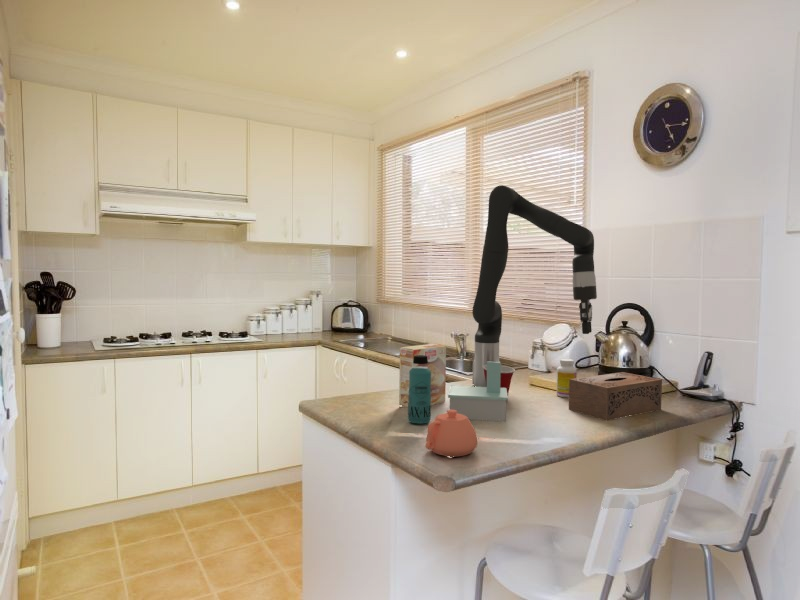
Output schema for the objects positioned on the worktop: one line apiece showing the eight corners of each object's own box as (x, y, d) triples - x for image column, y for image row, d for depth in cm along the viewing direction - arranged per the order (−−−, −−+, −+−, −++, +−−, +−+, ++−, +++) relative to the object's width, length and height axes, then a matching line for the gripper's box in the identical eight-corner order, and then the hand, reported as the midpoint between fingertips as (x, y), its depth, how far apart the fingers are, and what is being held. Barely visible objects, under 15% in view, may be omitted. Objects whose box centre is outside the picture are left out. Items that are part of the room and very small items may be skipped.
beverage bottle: (404, 423, 150) (404, 354, 149) (425, 421, 153) (425, 353, 152) (413, 430, 144) (414, 357, 143) (435, 427, 147) (436, 356, 146)
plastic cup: (508, 408, 169) (508, 371, 168) (476, 403, 174) (477, 367, 174) (519, 401, 178) (519, 366, 177) (489, 397, 184) (489, 362, 183)
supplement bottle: (577, 398, 182) (578, 361, 181) (557, 397, 183) (558, 361, 183) (574, 394, 189) (575, 358, 188) (555, 393, 190) (556, 358, 189)
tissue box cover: (622, 400, 180) (623, 372, 180) (661, 410, 168) (662, 379, 167) (568, 410, 168) (569, 379, 167) (606, 421, 155) (607, 387, 155)
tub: (449, 421, 153) (449, 397, 153) (452, 410, 165) (452, 388, 165) (505, 424, 151) (505, 399, 150) (504, 413, 163) (504, 390, 162)
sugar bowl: (488, 454, 126) (488, 412, 125) (442, 466, 118) (443, 421, 117) (454, 441, 136) (454, 401, 135) (410, 451, 128) (410, 409, 127)
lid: (447, 401, 153) (448, 364, 152) (451, 391, 166) (451, 357, 165) (507, 403, 150) (508, 366, 149) (506, 393, 163) (506, 359, 162)
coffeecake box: (413, 411, 164) (413, 349, 163) (398, 407, 169) (398, 346, 168) (446, 404, 174) (447, 345, 173) (431, 399, 179) (431, 343, 178)
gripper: (575, 287, 187) (577, 332, 187) (570, 285, 174) (573, 334, 174) (597, 285, 184) (600, 332, 184) (594, 284, 171) (597, 333, 171)
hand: (587, 333), depth 179 cm, fingers open, 8 cm apart
